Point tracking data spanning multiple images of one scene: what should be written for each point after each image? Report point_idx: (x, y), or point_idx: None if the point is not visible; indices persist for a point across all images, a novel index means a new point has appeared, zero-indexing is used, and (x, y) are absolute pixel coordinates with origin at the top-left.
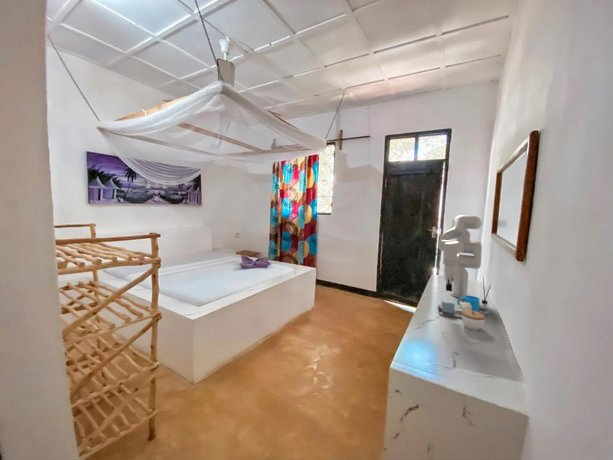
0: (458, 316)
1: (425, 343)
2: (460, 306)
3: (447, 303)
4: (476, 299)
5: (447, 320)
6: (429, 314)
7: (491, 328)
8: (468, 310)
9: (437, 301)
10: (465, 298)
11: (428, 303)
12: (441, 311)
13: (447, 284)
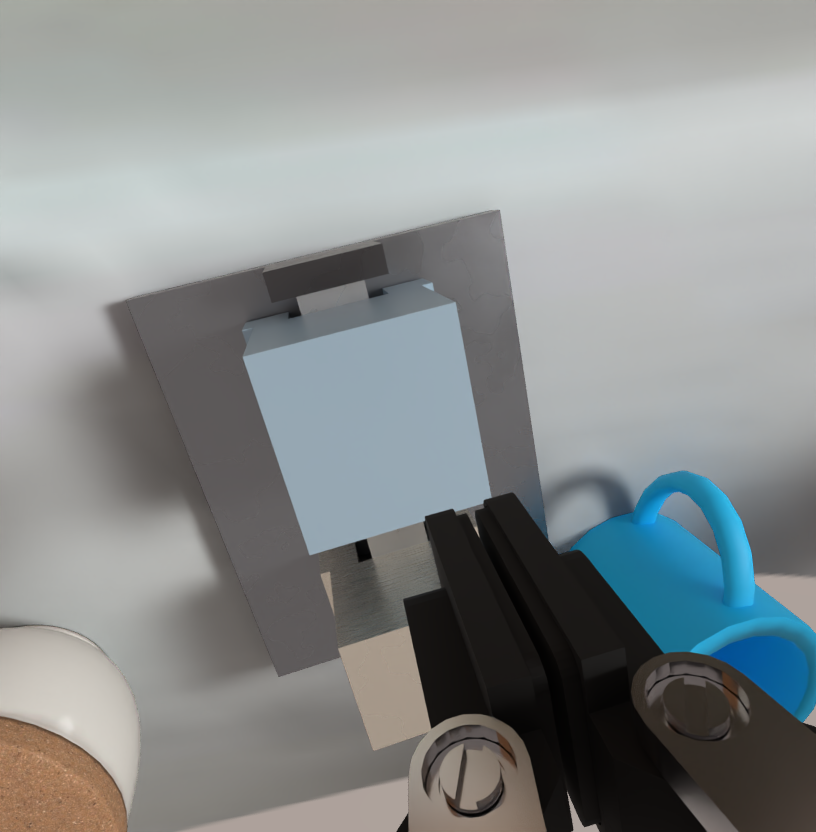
0: (227, 533)
1: None
2: (427, 573)
3: (274, 440)
4: None
5: (10, 425)
6: (32, 136)
7: (179, 796)
8: (38, 799)
9: (755, 175)
10: (690, 632)
11: (592, 40)
12: (259, 309)
13: (417, 779)
